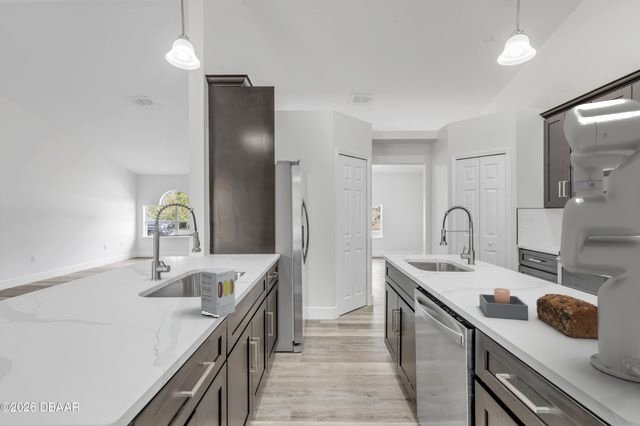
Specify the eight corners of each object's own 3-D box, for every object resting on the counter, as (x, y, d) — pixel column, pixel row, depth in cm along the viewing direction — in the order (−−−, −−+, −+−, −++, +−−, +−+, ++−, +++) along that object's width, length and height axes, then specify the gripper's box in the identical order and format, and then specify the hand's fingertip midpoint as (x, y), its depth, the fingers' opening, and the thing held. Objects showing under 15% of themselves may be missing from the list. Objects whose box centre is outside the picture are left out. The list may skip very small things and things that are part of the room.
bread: (608, 340, 91) (607, 306, 91) (567, 338, 93) (566, 305, 93) (568, 318, 109) (567, 290, 109) (534, 317, 111) (534, 289, 111)
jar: (512, 314, 113) (511, 292, 113) (496, 313, 114) (496, 291, 114) (507, 309, 118) (507, 288, 117) (493, 308, 119) (492, 288, 119)
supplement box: (216, 318, 115) (215, 273, 115) (200, 314, 120) (199, 271, 120) (236, 311, 123) (235, 269, 123) (220, 308, 128) (219, 267, 128)
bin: (528, 320, 108) (528, 305, 108) (486, 317, 112) (486, 303, 112) (516, 309, 120) (516, 296, 120) (479, 306, 124) (479, 294, 124)
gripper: (618, 184, 94) (619, 241, 94) (588, 188, 111) (589, 236, 111) (588, 185, 97) (589, 240, 97) (563, 189, 113) (564, 236, 113)
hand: (589, 238), depth 104 cm, fingers open, 9 cm apart
